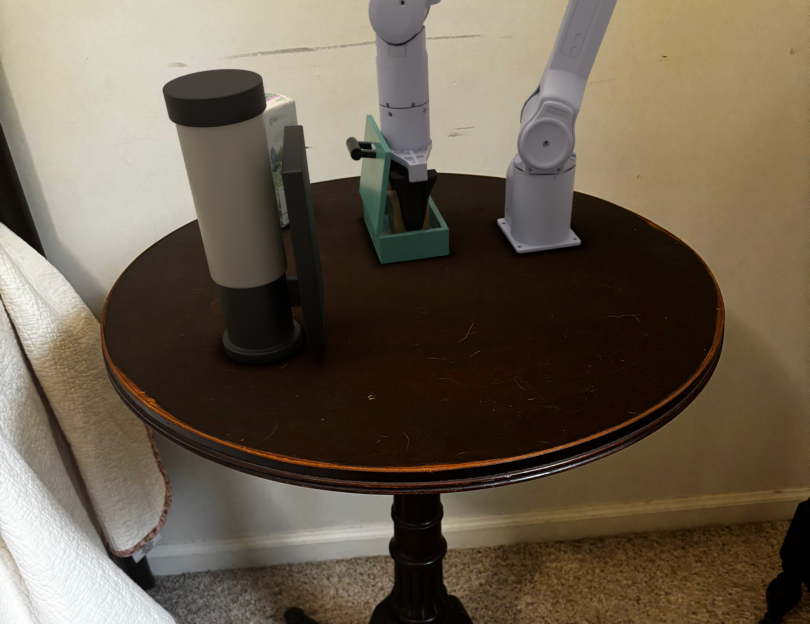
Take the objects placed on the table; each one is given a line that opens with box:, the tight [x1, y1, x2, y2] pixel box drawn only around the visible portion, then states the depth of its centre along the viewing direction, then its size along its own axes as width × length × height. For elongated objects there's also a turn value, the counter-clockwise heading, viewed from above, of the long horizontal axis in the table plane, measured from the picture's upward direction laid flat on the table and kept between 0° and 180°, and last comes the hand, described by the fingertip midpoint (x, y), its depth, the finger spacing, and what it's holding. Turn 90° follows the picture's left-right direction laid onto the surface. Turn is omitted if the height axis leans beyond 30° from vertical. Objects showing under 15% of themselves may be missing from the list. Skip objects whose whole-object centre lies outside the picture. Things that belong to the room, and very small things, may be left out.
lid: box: [345, 114, 391, 235], centre depth 95 cm, size 9×13×4 cm
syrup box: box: [263, 91, 299, 229], centre depth 102 cm, size 6×6×14 cm
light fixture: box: [162, 68, 327, 365], centre depth 76 cm, size 12×11×25 cm
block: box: [387, 189, 430, 234], centre depth 99 cm, size 4×4×4 cm
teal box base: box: [362, 195, 450, 265], centre depth 100 cm, size 8×13×3 cm, turn 11°
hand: (409, 220), depth 100 cm, fingers open, 5 cm apart
